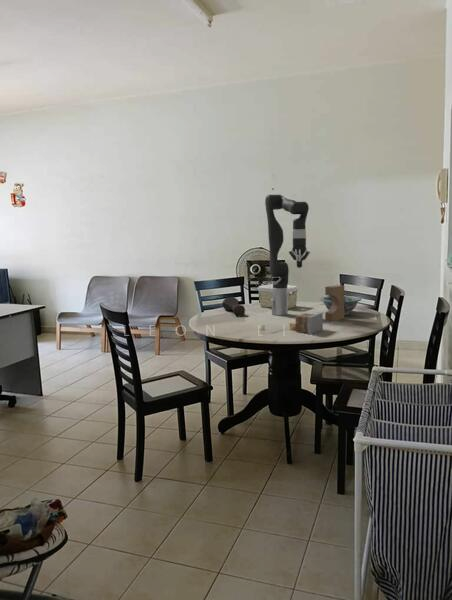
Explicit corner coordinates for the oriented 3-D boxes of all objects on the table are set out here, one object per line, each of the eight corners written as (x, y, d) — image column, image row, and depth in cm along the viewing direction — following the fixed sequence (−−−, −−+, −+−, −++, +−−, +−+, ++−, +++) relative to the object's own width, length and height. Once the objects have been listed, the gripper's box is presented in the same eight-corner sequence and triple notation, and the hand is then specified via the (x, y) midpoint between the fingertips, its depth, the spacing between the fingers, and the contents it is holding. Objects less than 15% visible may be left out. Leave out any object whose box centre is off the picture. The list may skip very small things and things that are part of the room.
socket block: (295, 331, 256) (295, 316, 255) (304, 327, 264) (304, 313, 263) (309, 332, 251) (309, 317, 250) (317, 329, 259) (317, 314, 258)
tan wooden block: (289, 330, 261) (289, 323, 261) (293, 328, 264) (293, 321, 264) (306, 332, 255) (306, 324, 255) (309, 330, 258) (309, 323, 258)
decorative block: (331, 321, 279) (331, 287, 275) (324, 320, 283) (324, 286, 280) (344, 319, 285) (345, 285, 282) (337, 317, 289) (337, 284, 286)
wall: (307, 334, 250) (307, 317, 248) (319, 328, 261) (319, 312, 259) (310, 334, 249) (310, 317, 247) (322, 329, 260) (322, 312, 258)
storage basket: (299, 306, 333) (298, 285, 330) (286, 310, 321) (285, 288, 318) (270, 303, 348) (270, 283, 346) (257, 307, 336) (256, 286, 334)
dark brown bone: (226, 312, 331) (237, 324, 305) (219, 300, 328) (229, 311, 302) (239, 304, 332) (251, 315, 306) (232, 291, 329) (244, 302, 303)
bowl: (369, 312, 302) (369, 297, 300) (345, 318, 285) (345, 303, 284) (335, 308, 320) (335, 294, 319) (312, 314, 304) (312, 299, 302)
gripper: (285, 237, 274) (286, 267, 277) (306, 237, 266) (306, 268, 269) (292, 237, 280) (292, 266, 283) (312, 237, 272) (312, 267, 275)
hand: (299, 267), depth 276 cm, fingers closed
